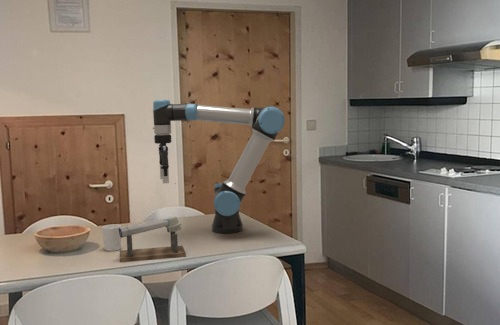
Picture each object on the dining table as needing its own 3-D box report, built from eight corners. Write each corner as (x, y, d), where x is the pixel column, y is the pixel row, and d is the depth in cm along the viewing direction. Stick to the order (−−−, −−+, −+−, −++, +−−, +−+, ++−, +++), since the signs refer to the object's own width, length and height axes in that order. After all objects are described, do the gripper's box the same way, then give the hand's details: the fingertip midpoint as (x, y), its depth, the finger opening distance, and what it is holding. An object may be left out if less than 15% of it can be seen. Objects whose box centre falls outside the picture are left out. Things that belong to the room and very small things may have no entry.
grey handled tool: (117, 226, 222) (176, 212, 231) (120, 242, 223) (179, 227, 232) (119, 229, 217) (180, 214, 226) (123, 245, 218) (183, 229, 227)
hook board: (182, 248, 235) (181, 228, 234) (185, 256, 223) (185, 234, 222) (120, 254, 229) (118, 232, 228) (120, 262, 217) (119, 239, 216)
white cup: (102, 248, 239) (100, 225, 238) (120, 245, 242) (119, 223, 241) (104, 252, 232) (103, 229, 231) (123, 250, 235) (122, 227, 234)
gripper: (152, 133, 259) (154, 177, 261) (156, 136, 235) (158, 185, 237) (168, 132, 260) (170, 177, 263) (173, 135, 236) (175, 184, 239)
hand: (164, 181), depth 250 cm, fingers open, 13 cm apart
